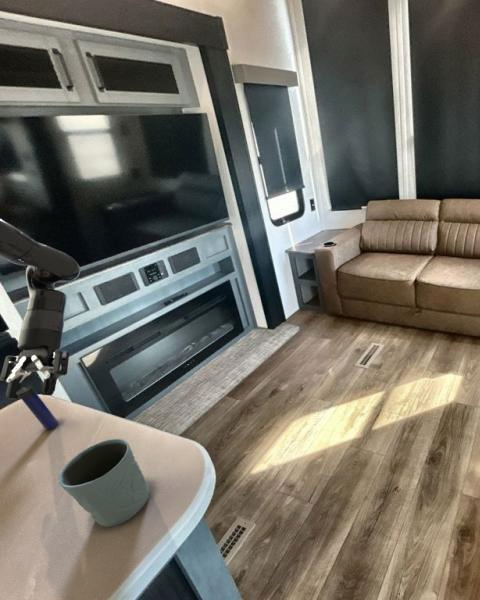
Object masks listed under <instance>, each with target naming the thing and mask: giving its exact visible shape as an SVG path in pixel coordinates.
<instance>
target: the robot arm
mask: <svg viewBox="0 0 480 600" xmlns="http://www.w3.org/2000/svg"><path fill="white" fill-rule="evenodd" d="M0 257H1V258H3V259H4V260H6V261H8V262H10V263H12V264H15V265H18V266H27V267H26V270H25V279H26V285H27V291H28V295H29V296H28V300H27V306H26V311H25V314H24V317H23V319H22V321H21V322H22V324H21V328H20V332H19V337H18V342H17V348H18V349H19V351H20V353H19V354H18V355H16V356H15V355H6V357H5V358H4V362H3V366H2V369H1V372H0V381H2V382H6V383H7V388H6V392H5V397H6V399H7V400H18V399H20V398H19V396H18V395H17V394H16V393H17V391H19V390H20V389H22V382H23V381H24V380H25V378H26V377H29V376H30V375H31V374H32V373H36V372H41V373H42V374H43V376H44V379H43V382H42V387H41V393H40V394H41V395H42V396H52V395H54V393H55V391H56V388H57V387H56V386H57V381H58V379H60V377H62V376H66V375H67V374H68V369H69V359H70V352H69V351H67V350H63V349H61V344H62V338H63V331H64V327H65V313H66V307H67V301H68V299H67V298H68V297H67V295H66V293H65V292H63V291H62V290H58V289H55V284H59V283H68V282H72V281H74V280H76V279H78V277H79V276H80V273H81V268H80V267H81V266H80V265H79V264H78V262H77V260H75V258H73V257H72V256H70V255H69V254H67V253H65V252H63V251H61V250H58V249H56V248H54V247H52V246H49V245H46V244H44V243H41V242H38V241H36V240H35V239H34V238H32V237H30V235H28V234H26V233H25V232H23V231H22V230H20V229H19V228H16V227H15V226H13V225H12V224H10V223H9V222H7V221H5V220H4V219H2V218H0ZM9 372H10V373H9Z"/></svg>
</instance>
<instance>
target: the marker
mask: <svg viewBox="0 0 480 600" xmlns="http://www.w3.org/2000/svg"><path fill="white" fill-rule="evenodd" d="M16 394H17V395H18V396H19V398H18V399H20V400H21V401H22V402H23V403H24V404H25V406H26V407H27V408H28V409H29V410H30V412H31V413H32V414H33V416H34V417H35V419H37V420H38V422H39V423H40V424H41V425H42V427H43V428H44V429H45V431H51V430H53V429H55V428H57V427H58V426H59V425H60V422H59V421H58V419H57V418H56V417H55V415H54V414H53V413H52V411H50V409H49V408H48V406H47V405H46V403H45V402H44V401H43V399H42V398H41V397H40V396H39V395H38V393H37V392H36V390H35V389H34V388H33V386H32V385H27V386H24V387H21V389H20V390H19V391H17V393H16Z"/></svg>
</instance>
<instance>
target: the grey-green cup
mask: <svg viewBox="0 0 480 600" xmlns="http://www.w3.org/2000/svg"><path fill="white" fill-rule="evenodd" d="M57 481H58V484H59V486H60V487H61V488H62V489H63V490H64V491H65V492H66V493H68V494H69V496H71V497H72V498H73V500H75V501H76V503H78V505H79V506H80V507H82V508H83V510H84V511H85V512H87V513H89V514H90V517H91V518H92V519H93V520H94V521H95V522H96V523H97V524H98V525H100V526H102V527H106V528H110V527H115V526H119V525H121V524H123V523H124V522H126V521H128V520H129V519H131V518H132V517H134V516H135V515H137V513H139V512H140V511H141V509H143V507H144V506H145V505H146V503H147V501H148V500H149V497H150V493H151V490H150V487H149V484H148V482H147V480H146V478H145V476H144V474H143V471H142V469H141V468H140V465H139V463H138V462H137V461H136V459H135V456H134V453H133V451H132V448H131V446H130V444H129V442H128V441H127V440H125V439H121V438H113V439H107V440H104V441H100V442H98V443H95V444H93V445H91V446H89V447H87V448H86V449H84V450H82V451H81V452H79V453H78V454H76V455H75V456H74V457H72V459H70V460H69V461H68V462H67V463H66V464H65V466H64V467H63V468H62V469H61V471H60V473H59V475H58V479H57Z"/></svg>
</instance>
